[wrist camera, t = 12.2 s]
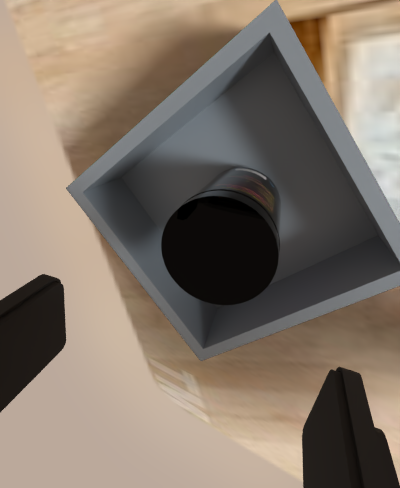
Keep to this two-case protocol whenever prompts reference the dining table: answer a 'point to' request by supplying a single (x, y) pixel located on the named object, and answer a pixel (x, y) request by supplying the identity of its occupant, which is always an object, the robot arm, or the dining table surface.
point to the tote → (259, 158)
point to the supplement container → (225, 238)
